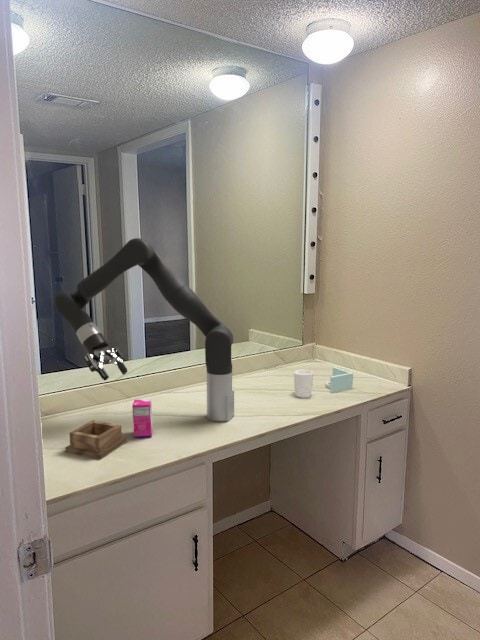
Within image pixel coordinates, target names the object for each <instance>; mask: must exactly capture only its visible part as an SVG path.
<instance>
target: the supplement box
mask: <svg viewBox="0 0 480 640" xmlns="http://www.w3.org/2000/svg"><path fill="white" fill-rule="evenodd" d="M131 408H132V421H133V425H132V426H133V438H134V439H144V438H146V439H147V438H152V437H153V432H154V427H153V409H152V398H145V399H144V398H143V399H134V400H133V403H132V407H131Z"/></svg>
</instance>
